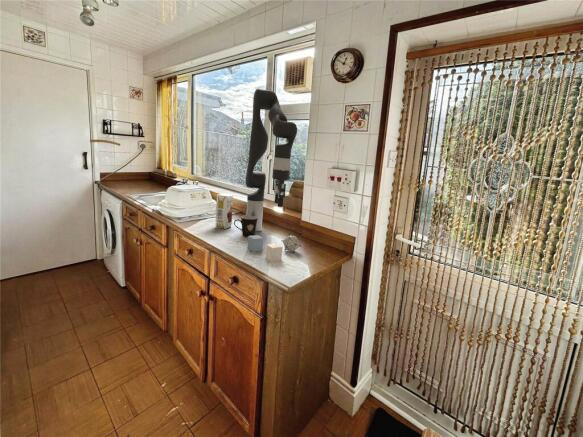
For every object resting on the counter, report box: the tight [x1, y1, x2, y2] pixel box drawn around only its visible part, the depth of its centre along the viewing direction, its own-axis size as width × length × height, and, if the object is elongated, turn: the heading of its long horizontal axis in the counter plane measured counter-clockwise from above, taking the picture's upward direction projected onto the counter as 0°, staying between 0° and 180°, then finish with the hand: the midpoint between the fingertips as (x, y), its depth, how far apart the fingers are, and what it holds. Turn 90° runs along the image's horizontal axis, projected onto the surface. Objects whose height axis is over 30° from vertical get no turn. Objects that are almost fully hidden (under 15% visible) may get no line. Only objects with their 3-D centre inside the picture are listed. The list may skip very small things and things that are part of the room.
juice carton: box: [215, 192, 234, 230], centre depth 170 cm, size 8×9×19 cm
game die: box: [280, 233, 302, 254], centre depth 139 cm, size 9×8×10 cm
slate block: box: [247, 234, 264, 252], centre depth 138 cm, size 5×5×6 cm
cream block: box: [265, 243, 283, 263], centre depth 128 cm, size 5×5×6 cm
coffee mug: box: [233, 215, 258, 238], centre depth 159 cm, size 12×9×10 cm
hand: (278, 204), depth 135 cm, fingers open, 8 cm apart
